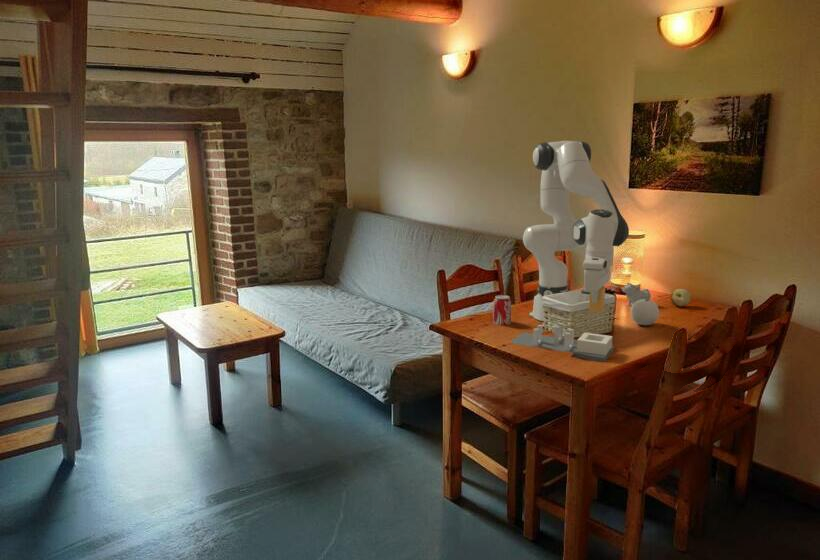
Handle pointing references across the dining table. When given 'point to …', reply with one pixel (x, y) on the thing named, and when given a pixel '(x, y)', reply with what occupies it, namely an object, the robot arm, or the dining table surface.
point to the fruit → (680, 297)
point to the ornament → (644, 312)
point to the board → (569, 343)
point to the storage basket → (577, 313)
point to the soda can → (502, 310)
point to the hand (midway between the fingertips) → (596, 300)
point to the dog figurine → (635, 293)
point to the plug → (598, 305)
